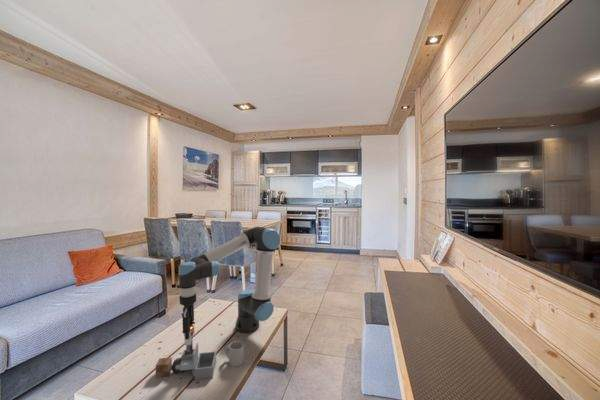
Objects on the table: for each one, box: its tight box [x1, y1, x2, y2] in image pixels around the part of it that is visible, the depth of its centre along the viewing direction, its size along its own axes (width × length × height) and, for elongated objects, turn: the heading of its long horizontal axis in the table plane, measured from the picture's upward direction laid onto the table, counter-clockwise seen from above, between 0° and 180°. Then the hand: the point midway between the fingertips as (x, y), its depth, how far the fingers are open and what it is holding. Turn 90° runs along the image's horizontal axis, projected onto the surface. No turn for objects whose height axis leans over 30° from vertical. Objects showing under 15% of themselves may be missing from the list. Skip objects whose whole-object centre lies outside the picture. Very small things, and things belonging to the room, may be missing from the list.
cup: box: [224, 340, 245, 367], centre depth 132 cm, size 7×10×9 cm
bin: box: [194, 351, 217, 381], centre depth 126 cm, size 8×12×5 cm, turn 10°
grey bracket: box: [171, 342, 199, 377], centre depth 125 cm, size 11×9×10 cm
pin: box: [185, 324, 195, 351], centre depth 126 cm, size 5×5×11 cm
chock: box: [155, 357, 173, 379], centre depth 123 cm, size 6×5×6 cm
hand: (189, 341), depth 127 cm, fingers closed on pin, 5 cm apart
